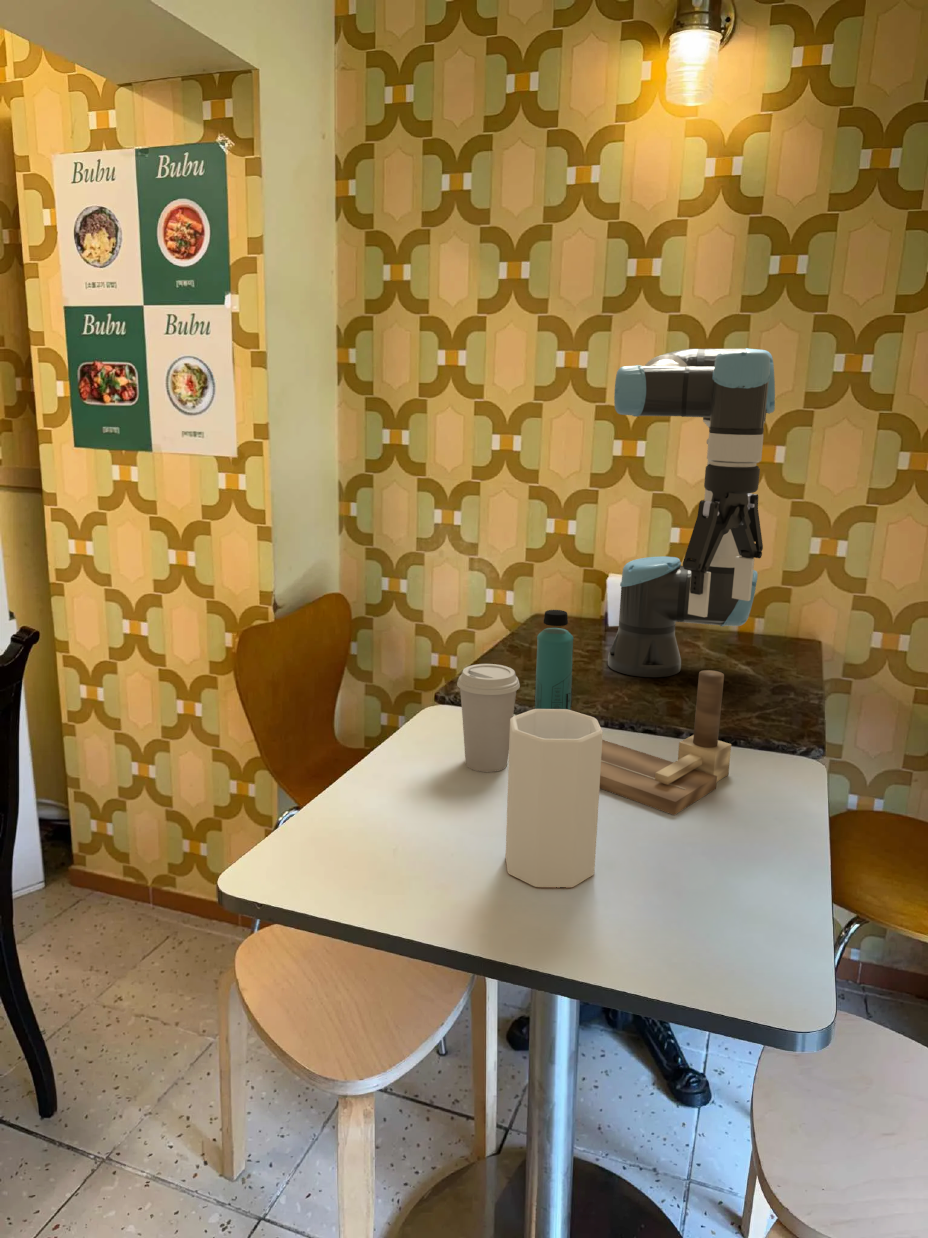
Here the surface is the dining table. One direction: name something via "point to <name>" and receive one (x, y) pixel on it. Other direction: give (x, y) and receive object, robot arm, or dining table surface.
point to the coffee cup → (487, 714)
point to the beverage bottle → (554, 664)
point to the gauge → (702, 735)
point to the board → (650, 779)
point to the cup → (553, 797)
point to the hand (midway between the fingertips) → (719, 607)
